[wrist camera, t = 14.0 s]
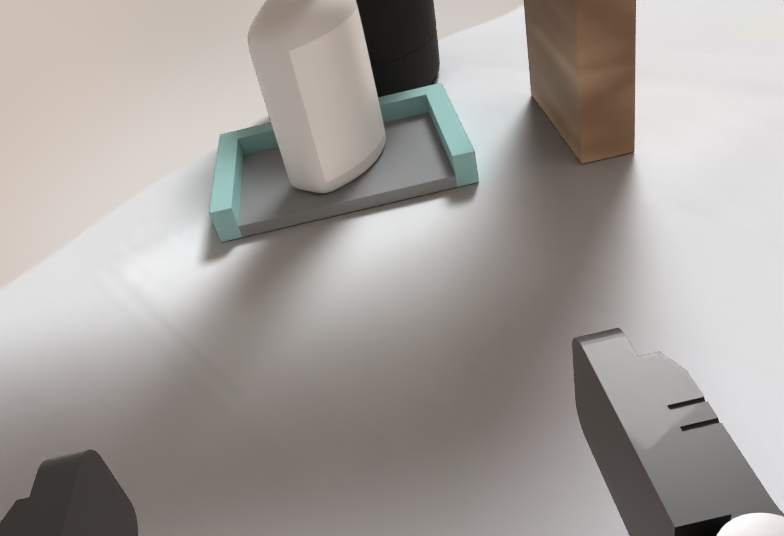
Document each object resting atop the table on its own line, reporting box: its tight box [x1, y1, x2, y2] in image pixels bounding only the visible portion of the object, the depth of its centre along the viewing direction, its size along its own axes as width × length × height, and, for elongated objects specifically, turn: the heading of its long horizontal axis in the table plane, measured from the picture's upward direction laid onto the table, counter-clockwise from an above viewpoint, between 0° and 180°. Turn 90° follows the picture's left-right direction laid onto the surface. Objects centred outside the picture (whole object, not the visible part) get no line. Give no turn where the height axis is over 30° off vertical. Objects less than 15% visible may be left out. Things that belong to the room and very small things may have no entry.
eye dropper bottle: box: [248, 0, 386, 193], centre depth 32 cm, size 4×6×12 cm
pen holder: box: [356, 0, 440, 97], centre depth 42 cm, size 9×9×10 cm
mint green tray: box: [209, 83, 479, 242], centre depth 36 cm, size 12×8×2 cm, turn 98°
